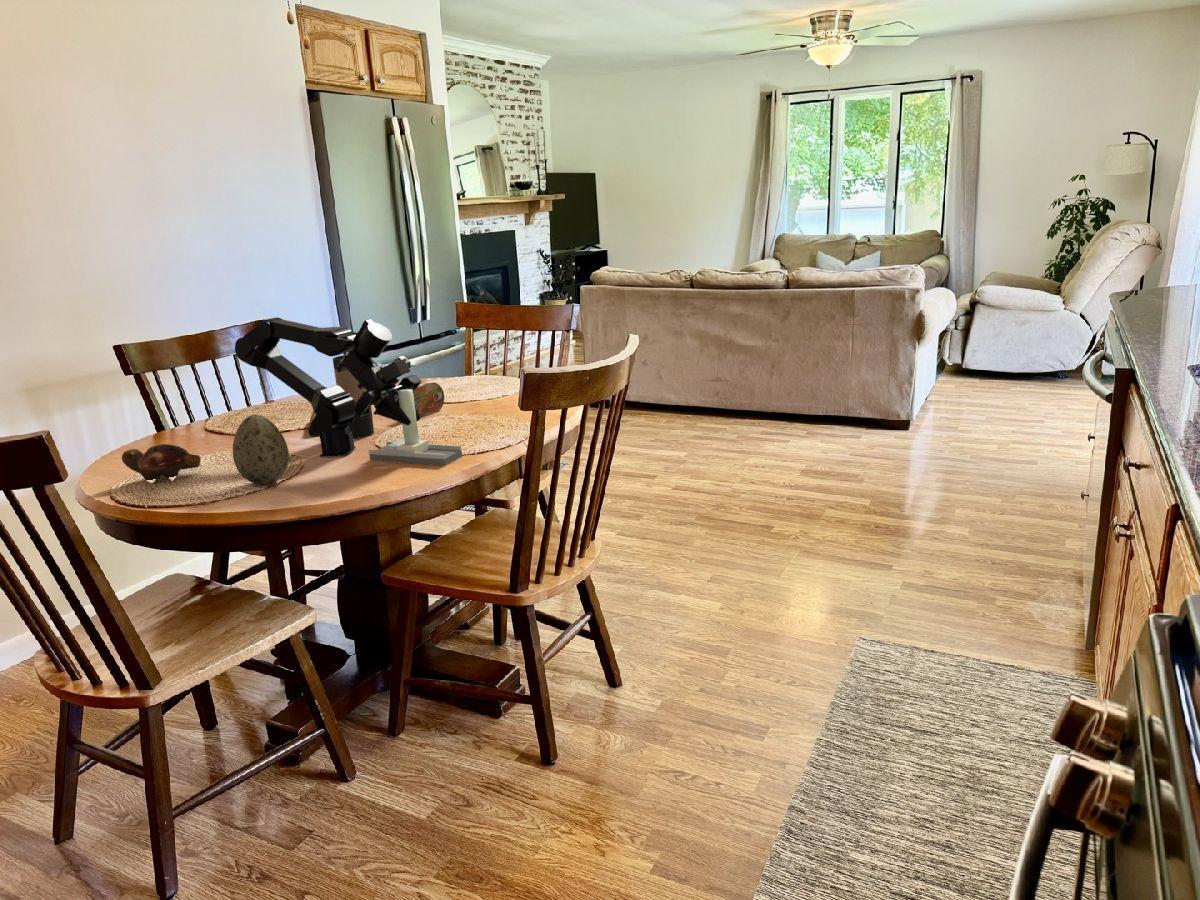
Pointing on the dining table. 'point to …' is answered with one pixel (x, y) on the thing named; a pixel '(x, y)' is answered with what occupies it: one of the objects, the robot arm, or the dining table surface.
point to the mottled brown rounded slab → (428, 398)
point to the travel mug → (349, 384)
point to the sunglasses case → (311, 431)
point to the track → (417, 454)
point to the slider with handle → (410, 430)
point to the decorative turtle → (160, 461)
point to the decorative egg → (260, 450)
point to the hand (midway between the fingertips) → (414, 421)
